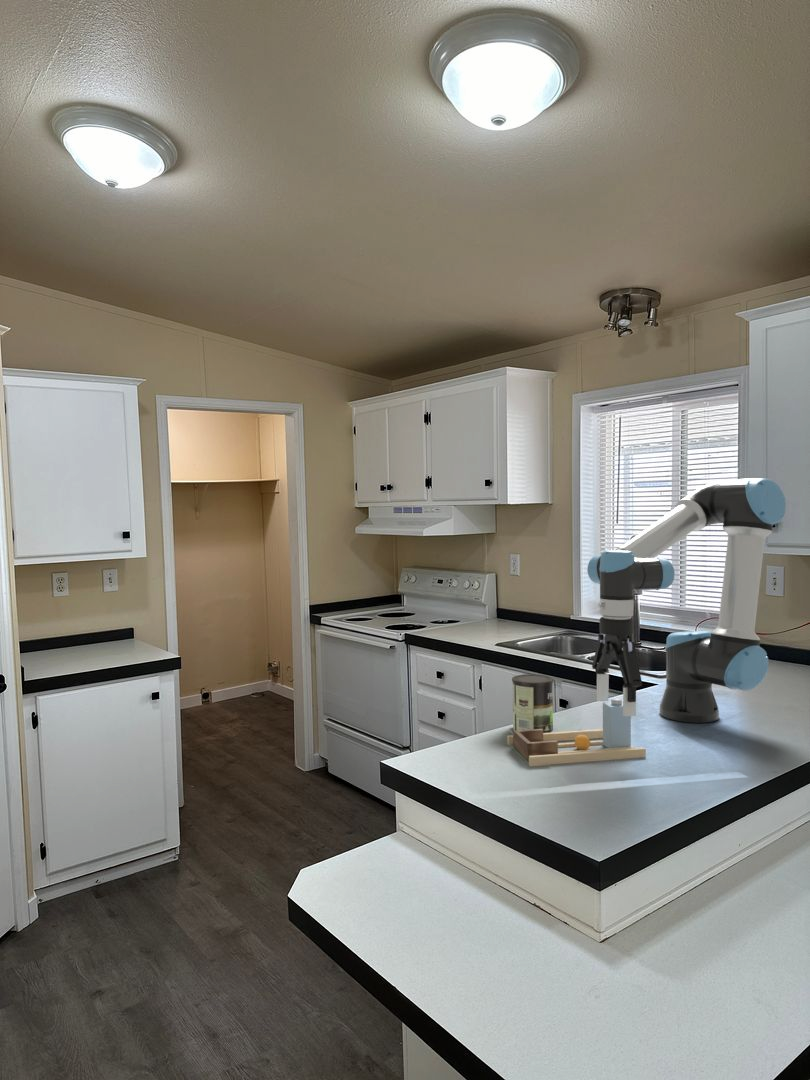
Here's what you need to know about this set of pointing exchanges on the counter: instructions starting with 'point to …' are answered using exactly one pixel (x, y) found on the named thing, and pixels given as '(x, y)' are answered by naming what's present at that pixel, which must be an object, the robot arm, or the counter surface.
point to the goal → (533, 743)
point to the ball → (582, 742)
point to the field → (579, 754)
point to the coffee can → (533, 702)
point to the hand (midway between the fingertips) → (615, 708)
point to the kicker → (616, 725)
